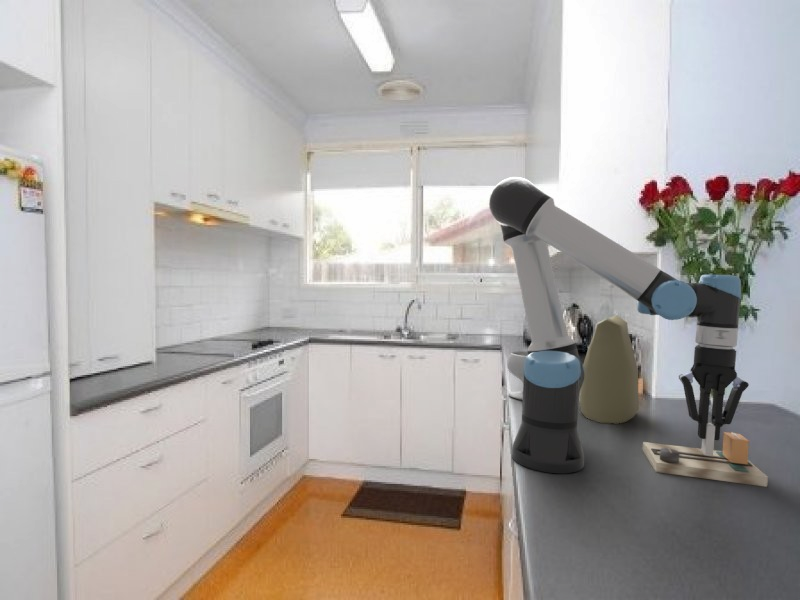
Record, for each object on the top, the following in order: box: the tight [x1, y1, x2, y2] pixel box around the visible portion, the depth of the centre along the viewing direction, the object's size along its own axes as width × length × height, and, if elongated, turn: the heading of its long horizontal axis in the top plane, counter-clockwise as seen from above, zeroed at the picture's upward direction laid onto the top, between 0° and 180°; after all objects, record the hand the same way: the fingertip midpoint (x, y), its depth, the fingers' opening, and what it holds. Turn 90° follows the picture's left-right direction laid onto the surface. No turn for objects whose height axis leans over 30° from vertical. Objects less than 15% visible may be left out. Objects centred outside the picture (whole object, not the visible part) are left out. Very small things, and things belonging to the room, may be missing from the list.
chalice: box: [506, 350, 528, 401], centre depth 164 cm, size 14×14×15 cm
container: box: [578, 314, 639, 425], centre depth 146 cm, size 24×17×30 cm
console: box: [642, 441, 769, 488], centre depth 105 cm, size 20×14×4 cm
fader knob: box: [722, 431, 750, 464], centre depth 103 cm, size 3×5×5 cm, turn 163°
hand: (707, 453), depth 105 cm, fingers closed
